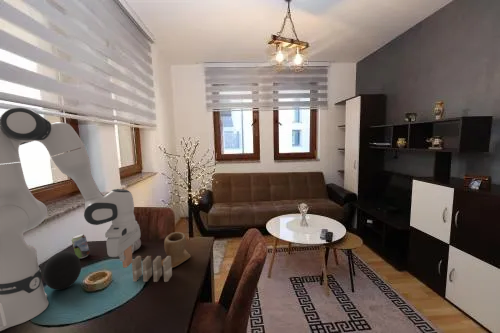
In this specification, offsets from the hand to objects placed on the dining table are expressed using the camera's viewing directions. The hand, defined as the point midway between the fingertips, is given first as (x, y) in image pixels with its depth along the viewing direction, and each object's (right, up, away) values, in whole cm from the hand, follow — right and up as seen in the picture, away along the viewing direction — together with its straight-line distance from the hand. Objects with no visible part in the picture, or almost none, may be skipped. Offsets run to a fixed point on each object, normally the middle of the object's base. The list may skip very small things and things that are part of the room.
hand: (127, 256), depth 106 cm
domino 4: (+13, -10, 0) cm, 16 cm away
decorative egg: (-23, -11, -5) cm, 26 cm away
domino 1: (0, -4, 0) cm, 4 cm away
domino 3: (+9, -10, +1) cm, 13 cm away
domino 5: (+18, -10, 0) cm, 20 cm away
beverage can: (-34, -8, +21) cm, 41 cm away
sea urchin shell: (-14, -7, +29) cm, 33 cm away
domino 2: (+4, -10, +1) cm, 11 cm away
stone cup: (+18, -8, +14) cm, 24 cm away
